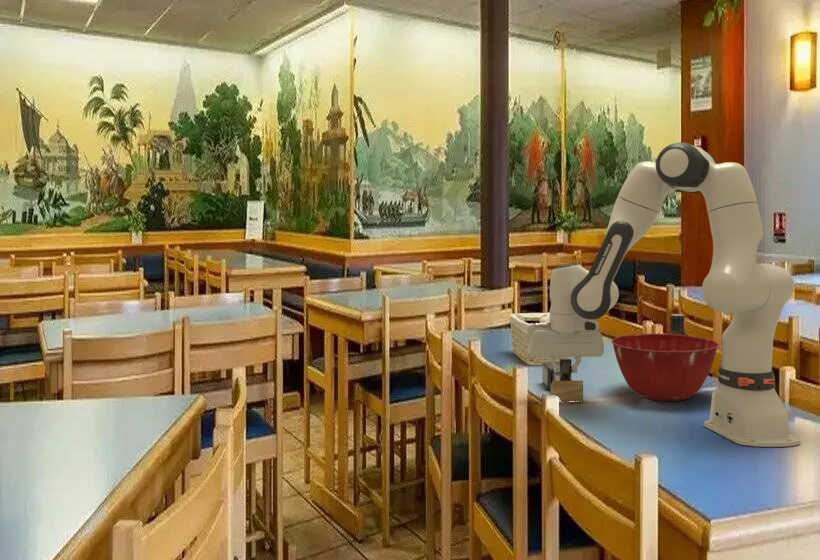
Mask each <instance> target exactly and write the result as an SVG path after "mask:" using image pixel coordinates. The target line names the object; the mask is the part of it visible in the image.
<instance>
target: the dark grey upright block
mask: <svg viewBox="0 0 820 560" xmlns="http://www.w3.org/2000/svg"><path fill="white" fill-rule="evenodd" d="M572 362H573V361H572V359H571V358H569V357H568V358H562V359H560V373H555V372H552V381H573V380H572V373H571V365H572V364H573V363H572Z"/></svg>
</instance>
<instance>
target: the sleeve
mask: <svg viewBox="0 0 820 560" xmlns="http://www.w3.org/2000/svg"><path fill="white" fill-rule="evenodd" d="M555 363H556V365H557V366H560V362H555ZM552 372H554V365H553V364H552V362H543V365H542V385H543V384H544V385H543V386H544V388H545V387H546V388H545V390H546V391H547V390H550V383H552Z"/></svg>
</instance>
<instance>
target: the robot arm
mask: <svg viewBox="0 0 820 560" xmlns="http://www.w3.org/2000/svg"><path fill="white" fill-rule="evenodd" d="M673 191H674V192H675V193H687V194H688V193H689V194H696V193H697V194H698V193H702V195H703V198H704V201H705V205H706V211H707V215H708V220H709V227H710V232H711V237H712V247H713V248H712V258H711V266H710V269H709V272H708V274H707V276H705V278H704V279H703V282H702V286H701V293H702V294H701V295H702V299H703V301H704V302H705V303H706V305H707V307H709V308H711V309H712V310H714V311H716V312H721V313H727V314H733V315H732V319H731V321H730V323H729V325H728V326H727V328H726V329H724V332H722V333H723V334H722V335H721V349H720V351H721V352H720V353H721V354H720V356H721V357H720V366H719V367H718V371H717V376H718V379H717V381H718V383H719V384H718V386H717V387H716V388H715V390H713V391H712V395H711V401H710V402H711V403H710V412H709V419H707V420H704V422H703V426H704V427H705V428H707V429H709V430H711V431H712V432H715V433H717V434H718V435H720V436H722V437H724V438H726V439H728V440H730V441H731V442H734V443H735V444H738V445H742V446H749V447H759V448H760V447H762V448H763V447H766V448H767V447H768V448H770V447H771V448H776V447H777V448H779V447H784V448H785V447H794V446H798V445H800V444H801V439H800V438H799V437H798V436H797V435H796V434H795V432H794V431H793V430H792V429H791V428H790V427H789V426H790V425H789V423H790V421H789V420H791V418H792V410H791V408H785V406H784V404H783V400H782V399H780V397H779V395H778V393H777V391H776V389H775V388H776V379H775V373H774V370H773V369H772V368H773V366H772V365H773V347H774V338H775V333H776V328H777V327H778V326H777V325H778V322H779V320H780V316H781V314H782V311H783V309H784V307H785V305H786V303H787V302H788V301H789V300H790V299H791V298H792V296H793V294H794V292H795V291H794V290H795V281H794V278H793V276H792V274H791V273H790V271H788V269H786V268H784V267H783V266H778V265H776V264H770V263H757V251H758V247H759V243H761V241H762V240H763V238H764V230H763V224H762V218H761V214H760V209H759V205H758V201H757V197H756V192H755V189H754V185H753V183H752V180H751V179H750V176H749V173H748V171H747V169H746V167H745V166H744V165H742V164H740V163H739V162H734V161H733V162H732V161H731V162H730V161H729V162H728V161H727V162H722V163H718V161H717V160H716V159H715V157H714V156H713V155H712V154H710V153H709V152H706V151H705V150H704V149H703V148H701V147H699V146H696V145H692V144H690V143H687V142H675V143H671V144H669V145H666V146H665V147H664V148H663V149H661V151H660V152H659V153H658V156H657V158H656V161H655V162H654V161H652V160H651V161H641V162H638V163H637V164H636V165H635V166H634V167H633V168H632V170H631V171H630V172H629V174H628V175H627V177H626V179H625V181H624V182H623V185H622V187H621V188H620V190H619V193H618V194H617V197H616V200H615V202H614V205H613V207H612V211H611V213H610V218H609V221H608V225H607V228H606V232H605V235H604V239H603V241H602V243H601V246H600V247H599V249H598V252H597V254H596V256H595V259H594V261H593V263H592V265H591V267H590V269H589V270H588V269H586V268H584V267H583V266H582V265H581V264H580V263H567V264H563V265H559V266H556V267H555V268H554V269H552V271H551V274H550V282H549V299H550V308H549V313H550V323H540V322H539V323H537V322H534V323H532V324H533V325H531V326H529V328H528V337H529V338H530V339H529V348H528V352H529V354H530V355H531V356H532V357H550V360H551V362H552V364H553V365H554V372H555V373H560V366H557V365H556V363H555V362H554V361H556V357H568V358H570V357H571V358H574V359H575V360H576V361H575V362H574V364H573V365H572V364H571V374H572V373H573V374H577V373H578V367H579V365H580V364H581V362H582V357H583V358H585V357H586V358H587V357H588V358H590V357H594V358H595V357H596V358H598V357H599V358H600V357H602V356H603V355H604V353H605V346H604V338H603V335H602V333H601V332H600V331H599V330H600V329H601V326H600V322H598V320H597V319H600V318H602V317H603V316H604V315H606V313H607V312H608V311H609V310H611V309H612V308H613V307H614V306H615V305H616V304H617V303H618V301H619V297H620V290H619V287H618V285H617V284H616V282H615V281H614V279H615V277H616V275H617V273H618V271H619V269H620V266H621V264H622V262H623V261H624V258H625V256H626V254H628V252H629V251H630V249H632V247H633V246H634V245H635V244H636V243H637V242H638V241H639V240H641V239H642V238H643V237H644V236H645V235H646V234H647V233H648V231H649V230H650V229H651V228H652V225H653V224H654V222H655V221H656V219H657V216H658V214H659V212H660V210H661V208H662V205H663V203H664V201H665V199H666V198H667V196H668V195H669V194H670V193H672V192H673ZM532 326H533V327H532Z"/></svg>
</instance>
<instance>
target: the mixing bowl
mask: <svg viewBox="0 0 820 560" xmlns="http://www.w3.org/2000/svg"><path fill="white" fill-rule="evenodd" d="M610 341H611V343H612V346H613V352H614V354H615V357H616V361H617V365H618V367H619V369H620V371H621V375H622V376H623V378H624V380H625V382H626V384H627V385H628V387H629V388H630V389H631V390H632V391H633V392H634V393H636V394H638V396H639V397H641V396H642V397H641V398H643V399H647V400H653V401H661V402H677V401H684V400H687V399H689V398H690V397H692V396H694V395H695V394H697V392H699V391H700V389H701V388H702V386H703V385H704V383H705V382H706V379H707V377H708V375H709V374H710V372H711V368H712V366H713V364H714V361H715V358H716V355H717V352H718V348H719V347H720V343H719V342H717V341H715V340H713V339H710V338H709V339H708V338H705V337H701V336H700V337H699V336H693V335H686V336H685V335H673V334H668V333H639V334H637V333H636V334H628V335H627V334H626V335H621V336H620V335H619V336H616V337H613V338H612V339H611V340H610Z"/></svg>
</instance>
